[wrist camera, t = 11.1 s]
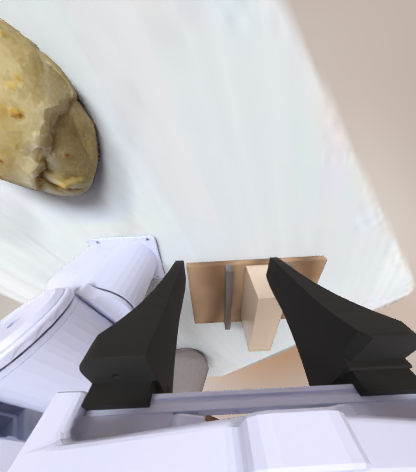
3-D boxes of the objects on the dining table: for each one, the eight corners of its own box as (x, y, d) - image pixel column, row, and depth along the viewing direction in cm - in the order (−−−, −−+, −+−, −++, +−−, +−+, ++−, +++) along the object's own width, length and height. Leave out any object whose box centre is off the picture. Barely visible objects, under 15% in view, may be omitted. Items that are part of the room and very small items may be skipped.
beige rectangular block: (240, 316, 29) (248, 351, 24) (245, 265, 23) (258, 298, 18) (257, 315, 29) (270, 350, 24) (268, 264, 23) (287, 297, 18)
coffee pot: (187, 368, 42) (180, 464, 29) (155, 355, 38) (129, 461, 25) (247, 340, 36) (272, 447, 22) (215, 320, 31) (224, 439, 18)
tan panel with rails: (195, 318, 31) (194, 331, 29) (187, 263, 24) (185, 274, 21) (299, 313, 31) (306, 325, 29) (322, 255, 24) (335, 265, 21)
